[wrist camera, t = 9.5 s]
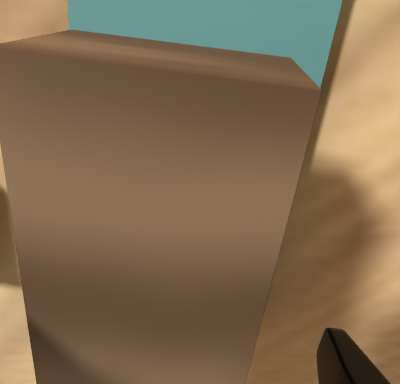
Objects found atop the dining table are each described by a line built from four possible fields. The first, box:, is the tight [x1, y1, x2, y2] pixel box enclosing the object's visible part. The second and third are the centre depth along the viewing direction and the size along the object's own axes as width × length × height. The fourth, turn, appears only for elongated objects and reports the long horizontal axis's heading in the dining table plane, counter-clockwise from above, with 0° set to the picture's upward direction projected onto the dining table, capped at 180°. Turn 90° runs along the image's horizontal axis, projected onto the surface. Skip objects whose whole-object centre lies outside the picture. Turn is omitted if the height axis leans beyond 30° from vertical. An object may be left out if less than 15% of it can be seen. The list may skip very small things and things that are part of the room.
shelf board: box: [0, 30, 322, 384], centre depth 11 cm, size 12×6×4 cm, turn 174°
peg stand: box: [68, 0, 343, 88], centre depth 16 cm, size 20×11×7 cm, turn 174°
